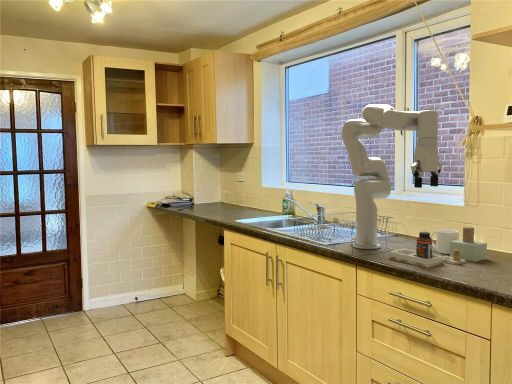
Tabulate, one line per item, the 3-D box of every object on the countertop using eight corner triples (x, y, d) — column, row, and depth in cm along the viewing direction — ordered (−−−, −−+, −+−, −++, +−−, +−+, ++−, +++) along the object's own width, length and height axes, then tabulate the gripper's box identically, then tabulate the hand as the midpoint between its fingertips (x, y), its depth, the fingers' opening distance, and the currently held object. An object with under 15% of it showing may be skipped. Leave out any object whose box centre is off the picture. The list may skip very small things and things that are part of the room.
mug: (462, 252, 201) (463, 231, 201) (450, 255, 196) (451, 233, 195) (438, 248, 211) (438, 227, 210) (426, 250, 206) (426, 229, 205)
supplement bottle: (413, 260, 183) (413, 232, 182) (420, 258, 187) (420, 230, 186) (427, 263, 179) (428, 234, 178) (434, 260, 183) (435, 232, 182)
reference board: (436, 260, 187) (436, 248, 187) (446, 258, 191) (446, 246, 190) (456, 264, 180) (456, 252, 179) (466, 262, 183) (466, 250, 183)
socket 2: (407, 260, 184) (407, 255, 184) (422, 257, 189) (422, 252, 189) (427, 264, 176) (427, 259, 176) (442, 261, 181) (442, 256, 181)
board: (388, 258, 192) (388, 256, 192) (404, 255, 197) (404, 253, 197) (427, 267, 176) (427, 265, 176) (443, 264, 181) (443, 261, 181)
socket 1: (390, 256, 192) (390, 251, 191) (404, 253, 197) (404, 248, 196) (408, 260, 184) (408, 255, 184) (423, 257, 189) (423, 252, 189)
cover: (449, 256, 193) (450, 227, 192) (461, 254, 198) (462, 225, 197) (474, 261, 184) (475, 230, 183) (486, 258, 189) (487, 228, 188)
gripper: (432, 143, 187) (432, 185, 188) (404, 143, 177) (403, 187, 179) (449, 142, 180) (448, 186, 182) (420, 142, 171) (419, 188, 172)
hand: (426, 186), depth 180 cm, fingers open, 9 cm apart
